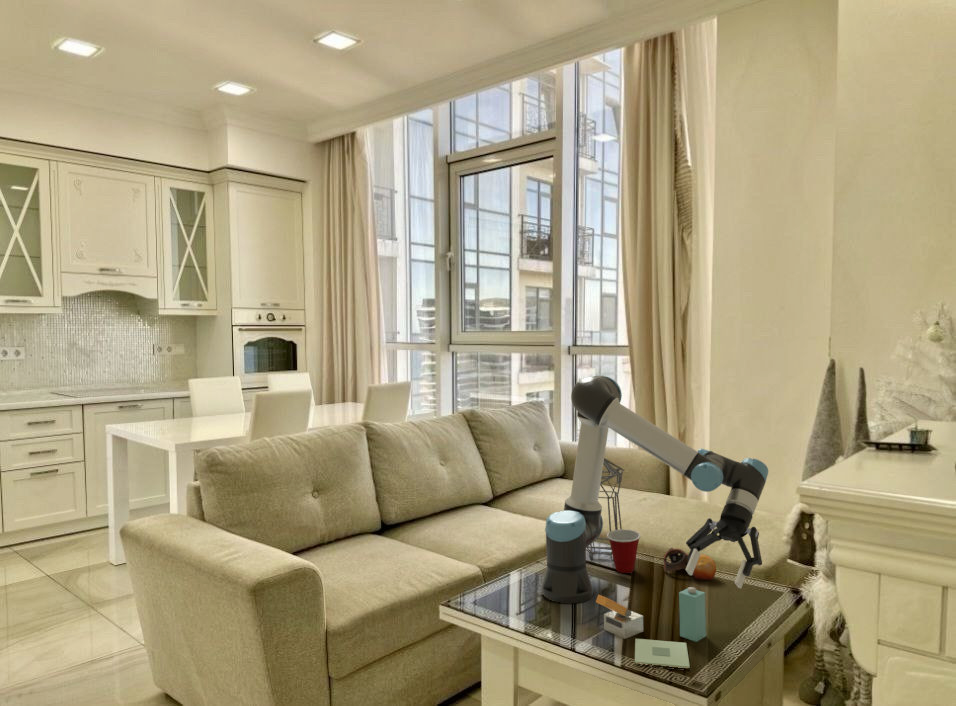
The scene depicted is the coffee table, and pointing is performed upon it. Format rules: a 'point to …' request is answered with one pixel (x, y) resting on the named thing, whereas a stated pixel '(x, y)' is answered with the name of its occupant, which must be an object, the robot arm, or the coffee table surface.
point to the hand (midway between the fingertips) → (712, 579)
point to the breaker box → (623, 624)
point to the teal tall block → (692, 614)
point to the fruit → (705, 568)
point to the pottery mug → (675, 560)
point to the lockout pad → (661, 653)
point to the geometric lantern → (610, 469)
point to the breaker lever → (613, 606)
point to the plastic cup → (624, 549)
